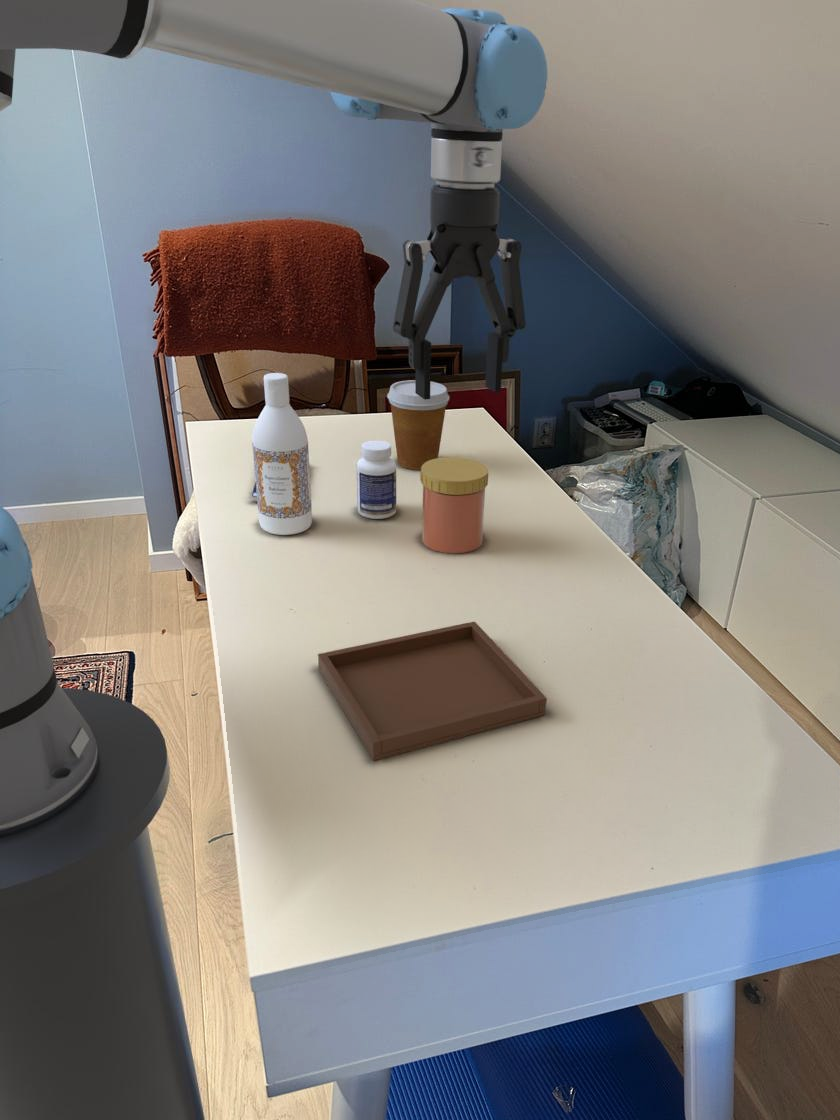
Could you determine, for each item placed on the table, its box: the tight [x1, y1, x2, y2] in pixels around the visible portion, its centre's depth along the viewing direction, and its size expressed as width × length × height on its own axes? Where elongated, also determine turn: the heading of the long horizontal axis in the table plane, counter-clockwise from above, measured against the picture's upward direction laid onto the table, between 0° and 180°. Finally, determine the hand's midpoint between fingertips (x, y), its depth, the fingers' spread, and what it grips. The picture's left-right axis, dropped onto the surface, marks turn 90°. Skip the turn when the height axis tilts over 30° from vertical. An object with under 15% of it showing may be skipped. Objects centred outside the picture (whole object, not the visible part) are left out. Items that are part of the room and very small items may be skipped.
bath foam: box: [251, 372, 313, 536], centre depth 114 cm, size 7×7×20 cm
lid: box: [419, 456, 489, 495], centre depth 114 cm, size 9×9×2 cm
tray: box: [317, 621, 548, 761], centre depth 88 cm, size 18×16×2 cm
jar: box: [421, 485, 486, 554], centre depth 116 cm, size 8×8×10 cm
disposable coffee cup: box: [386, 379, 450, 471], centre depth 139 cm, size 10×10×12 cm
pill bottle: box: [356, 440, 397, 520], centre depth 122 cm, size 5×5×10 cm
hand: (458, 392), depth 108 cm, fingers open, 9 cm apart
